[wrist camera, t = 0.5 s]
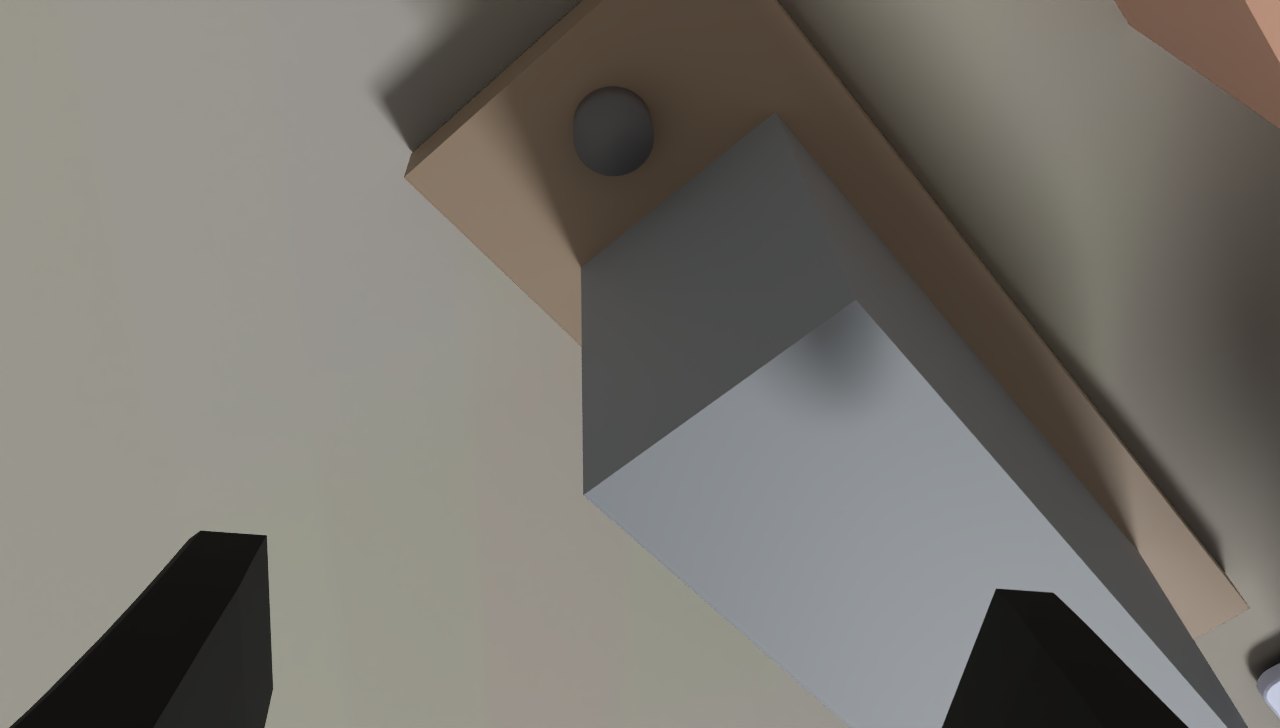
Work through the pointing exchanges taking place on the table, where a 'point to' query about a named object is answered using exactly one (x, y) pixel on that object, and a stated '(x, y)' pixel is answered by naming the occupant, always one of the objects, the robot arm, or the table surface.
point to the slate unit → (809, 365)
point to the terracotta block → (1220, 43)
